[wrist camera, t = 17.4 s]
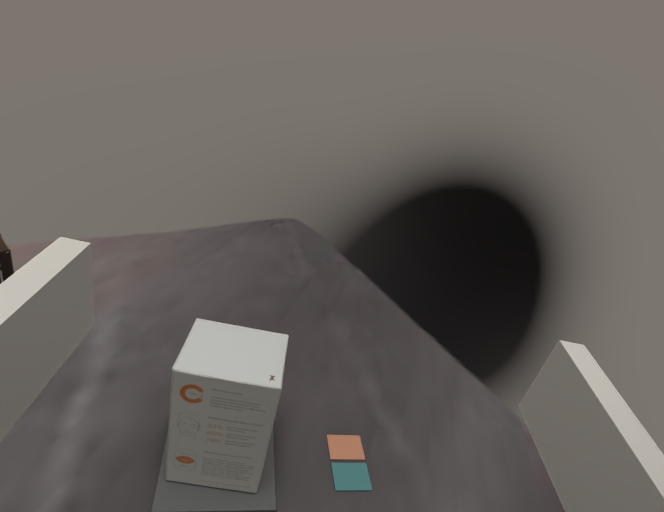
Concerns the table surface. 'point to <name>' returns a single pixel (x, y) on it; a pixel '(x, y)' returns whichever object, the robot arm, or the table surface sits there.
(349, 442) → the tiles
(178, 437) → the small box
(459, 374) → the table surface
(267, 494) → the gray slab
